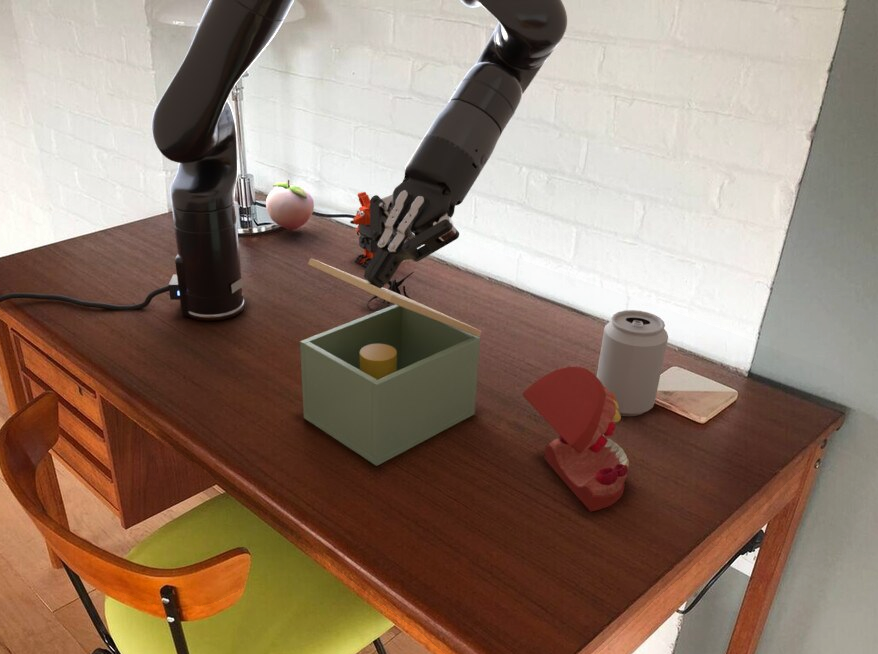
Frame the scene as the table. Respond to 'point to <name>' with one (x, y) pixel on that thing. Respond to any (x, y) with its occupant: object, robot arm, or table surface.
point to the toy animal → (364, 230)
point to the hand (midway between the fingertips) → (372, 283)
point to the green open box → (389, 382)
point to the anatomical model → (582, 434)
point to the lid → (394, 297)
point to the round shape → (378, 360)
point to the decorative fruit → (289, 205)
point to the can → (632, 359)
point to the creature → (393, 287)
